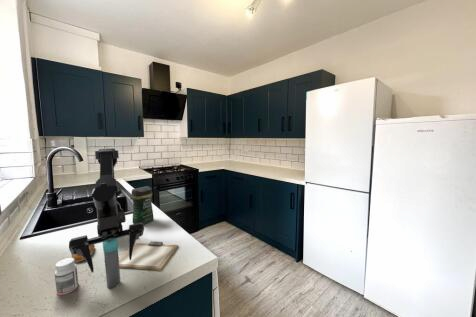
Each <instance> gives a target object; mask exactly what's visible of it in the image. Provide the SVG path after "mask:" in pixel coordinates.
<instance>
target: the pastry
mask: <svg viewBox="0 0 476 317" xmlns="http://www.w3.org/2000/svg"><path fill="white" fill-rule="evenodd" d="M95 247H96V244H94V245H90V246H89V249H90V253H91V256H92V255H93V254H94V251H95ZM71 258H74V261H75V263H79V262H84V261H86V260H85V259H84V257H83V256H82V255H81V256H77V254H75V255H72V254H71Z"/></svg>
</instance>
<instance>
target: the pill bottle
mask: <svg viewBox="0 0 476 317" xmlns="http://www.w3.org/2000/svg"><path fill="white" fill-rule="evenodd" d="M75 263H76V262H75V261H74V258H72V257H68V258H63V259H61V260H59V261H58V262H56V263H55V272H54V280H55V288H56V289H55V290H56V294H57V295H60V296H61V295H67V294H70V293H72V292H73V291H74V290H76V289H77V288H78V286H79V279H78V278H79V276H78V275H79V274H78V267H77V264H75Z"/></svg>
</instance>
